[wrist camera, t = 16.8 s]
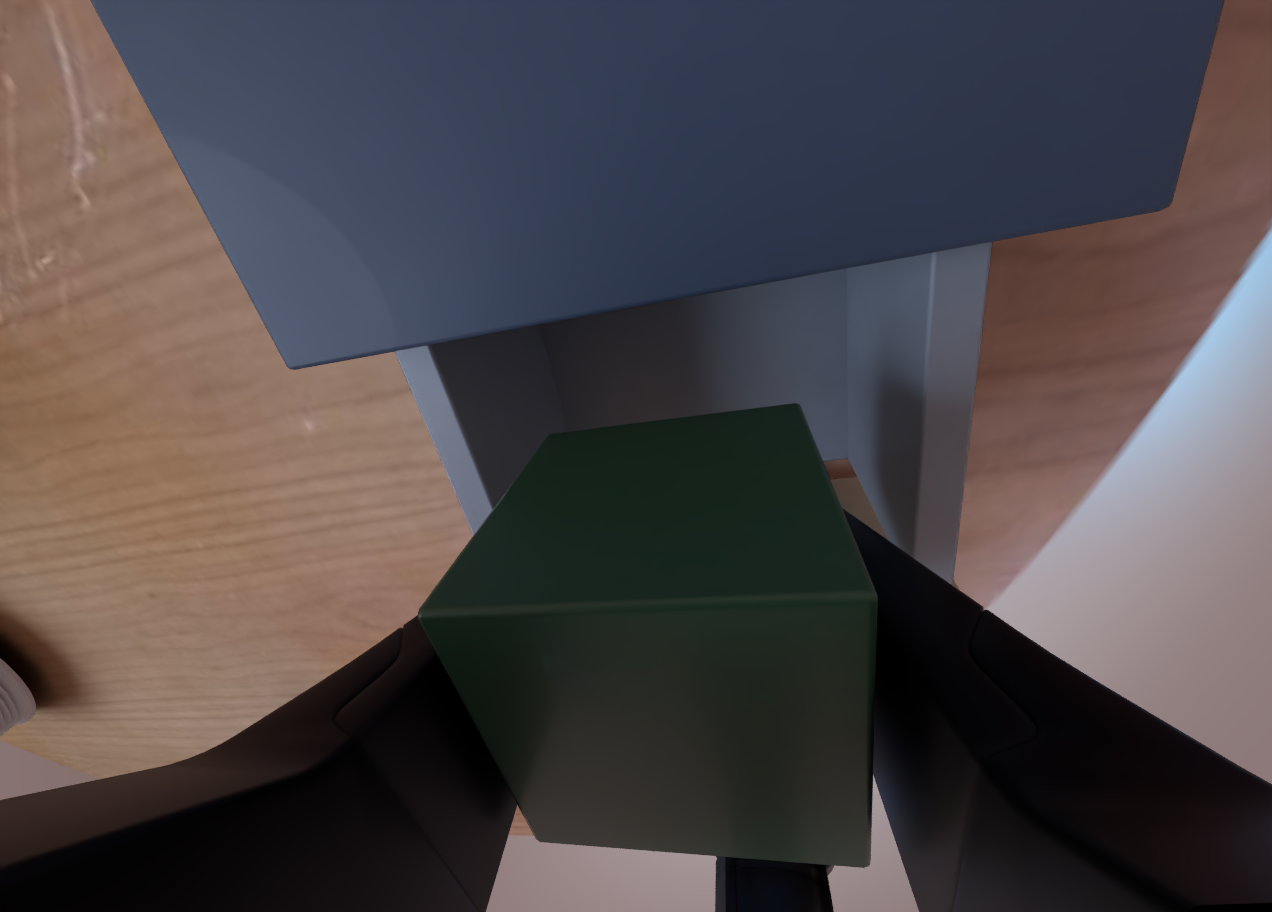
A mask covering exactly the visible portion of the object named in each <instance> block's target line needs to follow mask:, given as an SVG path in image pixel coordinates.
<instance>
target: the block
mask: <svg viewBox="0 0 1272 912" xmlns="http://www.w3.org/2000/svg"><path fill="white" fill-rule="evenodd" d="M877 607H878V596H877V593H876V591H875V588H874V586H873V583H872V581H871V578H870V576H869V574H868V571H867V569H866V566H865V564H864V561H863V559H862V556H861V554H860V551H859V549H858V546H857V544H856V541H855V539H854V536H853V534H852V531H851V529H850V527H849V524H848V522H847V519H846V517H845V514H844V512H843V509H842V507H841V504H840V502H839V499H838V497H837V494H836V492H835V489H834V487H833V485H832V482H831V480H830V477H829V475H828V472H827V470H826V467H825V465H824V462H823V460H822V457H821V455H820V452H819V450H818V447H817V445H816V442H815V440H814V438H813V435H812V433H811V430H810V428H809V425H808V423H807V420H806V418H805V415H804V413H803V410H802V408H801V406H800V404H797V403H792V404H784V405H776V406H768V407H760V408H752V409H744V410H736V411H728V412H720V413H713V414H705V415H697V416H689V417H681V418H673V419H665V420H657V421H649V422H641V423H633V424H625V425H618V426H610V427H602V428H594V429H586V430H578V431H570V432H562V433H554V434H549V435H548V436H547V437H546V438H545V439H544V441H543V442H542V444H541V445H540V446H539V448H538V449H537V450H536V452H535V453H534V454H533V456H532V457H531V458H530V460H529V461H528V462H527V464H526V465H525V467H524V468H523V469H522V471H521V472H520V473H519V475H518V476H517V477H516V479H515V480H514V481H513V483H512V484H511V486H510V487H509V488H508V490H507V491H506V492H505V494H504V495H503V496H502V498H501V499H500V500H499V502H498V503H497V504H496V506H495V507H494V509H493V510H492V511H491V513H490V514H489V515H488V517H487V518H486V519H485V521H484V522H483V523H482V525H481V526H480V528H479V529H478V530H477V532H476V533H475V534H474V536H473V537H472V538H471V540H470V541H469V542H468V544H467V545H466V546H465V548H464V549H463V551H462V552H461V553H460V555H459V556H458V557H457V559H456V560H455V561H454V563H453V564H452V565H451V567H450V568H449V570H448V571H447V572H446V574H445V575H444V576H443V578H442V579H441V580H440V582H439V583H438V584H437V586H436V587H435V588H434V590H433V591H432V593H431V594H430V595H429V597H428V598H427V599H426V601H425V602H424V603H423V605H422V606H421V607H420V609H419V612H418V619H419V621H420V623H421V625H422V627H423V629H424V631H425V632H426V634H427V636H428V638H429V640H430V642H431V644H432V645H433V647H434V649H435V651H436V653H437V655H438V657H439V659H440V660H441V662H442V664H443V666H444V668H445V670H446V672H447V674H448V675H449V677H450V679H451V681H452V683H453V685H454V687H455V689H456V690H457V692H458V694H459V696H460V698H461V700H462V702H463V703H464V705H465V707H466V709H467V711H468V713H469V715H470V717H471V718H472V720H473V722H474V724H475V726H476V728H477V730H478V732H479V733H480V735H481V737H482V739H483V741H484V743H485V745H486V747H487V748H488V750H489V752H490V754H491V756H492V758H493V760H494V761H495V763H496V765H497V767H498V769H499V771H500V773H501V775H502V776H503V778H504V780H505V782H506V784H507V786H508V788H509V790H510V791H511V793H512V795H513V797H514V799H515V801H516V803H517V805H518V806H519V808H520V810H521V812H522V814H523V816H524V818H525V819H526V821H527V823H528V825H529V827H530V829H531V831H532V833H533V834H534V836H535V838H536V839H537V840H538V841H540V842H548V843H560V844H574V845H586V846H598V847H611V848H625V849H636V850H649V851H661V852H674V853H687V854H699V855H712V856H724V857H737V858H749V859H762V860H774V861H787V862H799V863H812V864H825V865H837V866H850V867H863V868H864V867H867V866H869V865H870V859H871V827H872V788H873V754H874V717H875V681H876V644H877Z"/></svg>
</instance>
